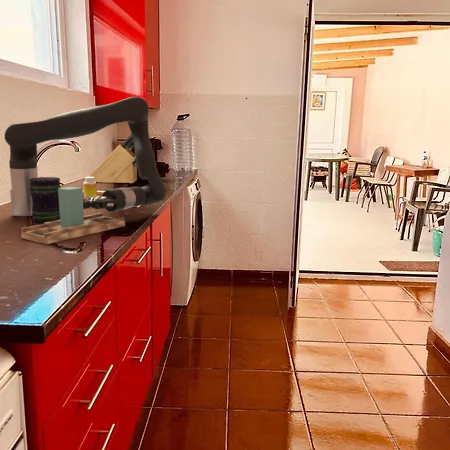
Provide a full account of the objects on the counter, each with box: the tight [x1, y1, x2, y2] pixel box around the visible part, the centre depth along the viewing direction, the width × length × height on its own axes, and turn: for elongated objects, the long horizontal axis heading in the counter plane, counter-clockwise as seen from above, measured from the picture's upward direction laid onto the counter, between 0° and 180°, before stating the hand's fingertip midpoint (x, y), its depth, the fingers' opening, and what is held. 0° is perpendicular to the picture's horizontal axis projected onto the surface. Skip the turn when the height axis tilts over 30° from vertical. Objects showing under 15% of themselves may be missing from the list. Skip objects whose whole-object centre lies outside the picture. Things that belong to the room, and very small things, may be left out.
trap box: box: [20, 212, 126, 245], centre depth 146 cm, size 30×12×3 cm, turn 145°
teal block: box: [58, 186, 85, 228], centre depth 143 cm, size 5×5×12 cm
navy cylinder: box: [30, 176, 62, 225], centre depth 158 cm, size 10×10×15 cm
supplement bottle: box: [82, 176, 98, 199], centre depth 204 cm, size 6×6×10 cm
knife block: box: [88, 133, 152, 184], centre depth 264 cm, size 11×35×31 cm, turn 89°
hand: (77, 206), depth 145 cm, fingers closed
